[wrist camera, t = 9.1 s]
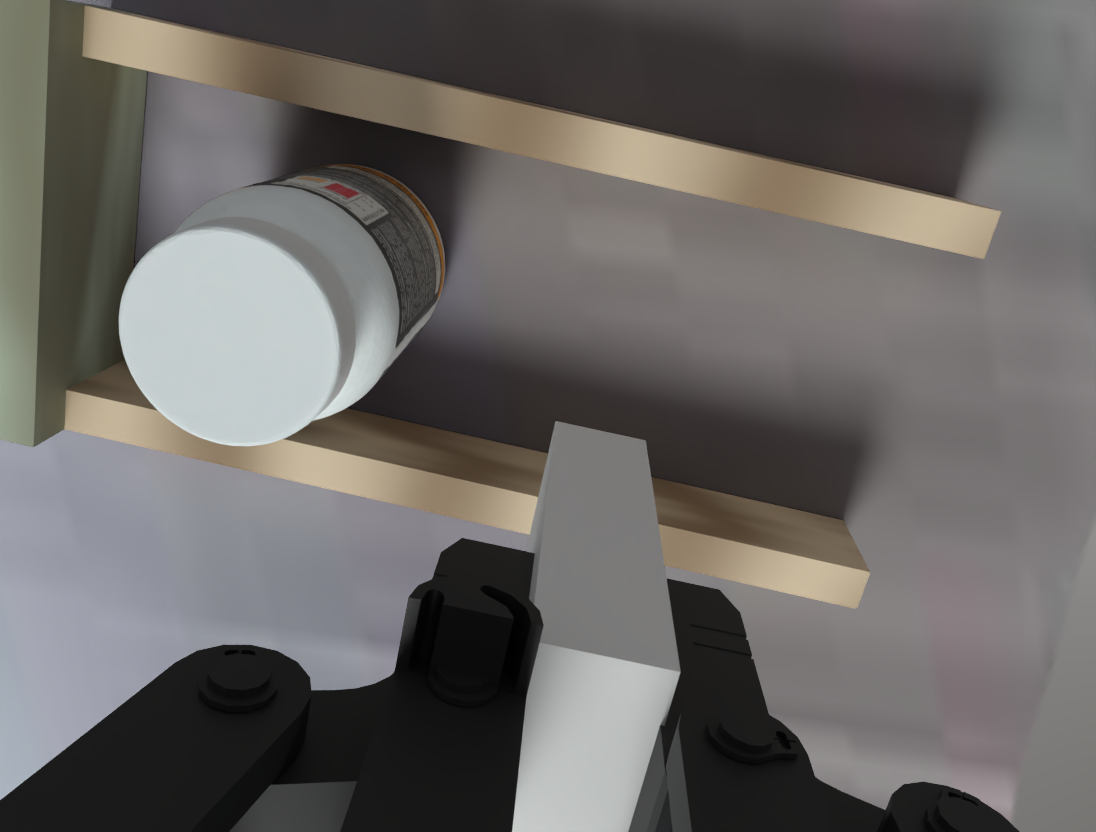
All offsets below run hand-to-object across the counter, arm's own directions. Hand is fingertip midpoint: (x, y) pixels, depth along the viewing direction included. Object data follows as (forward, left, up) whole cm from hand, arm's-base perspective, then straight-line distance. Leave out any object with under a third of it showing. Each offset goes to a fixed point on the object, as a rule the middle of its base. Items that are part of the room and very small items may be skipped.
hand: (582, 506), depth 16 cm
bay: (-3, 0, -14) cm, 14 cm away
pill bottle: (-8, 0, -14) cm, 16 cm away
